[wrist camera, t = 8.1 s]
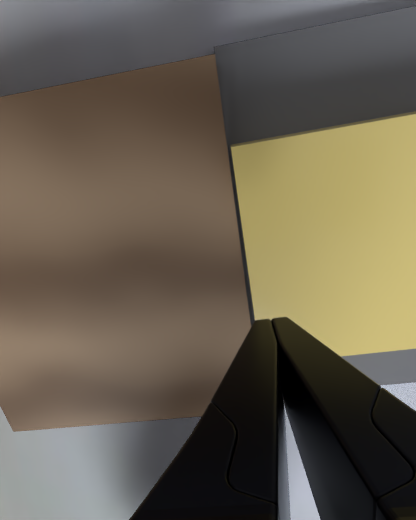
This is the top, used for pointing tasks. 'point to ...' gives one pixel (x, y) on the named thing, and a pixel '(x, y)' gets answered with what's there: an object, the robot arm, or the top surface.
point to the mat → (322, 105)
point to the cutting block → (117, 249)
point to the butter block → (334, 231)
